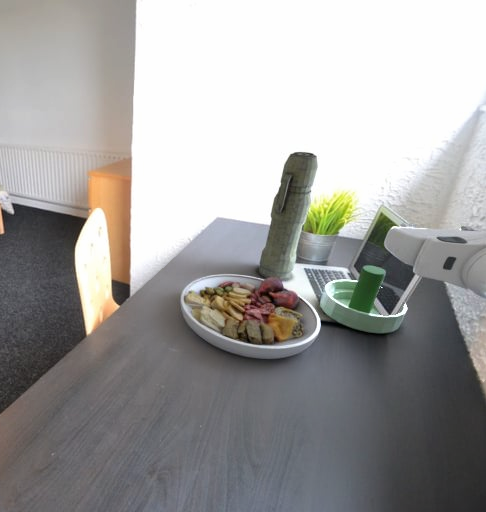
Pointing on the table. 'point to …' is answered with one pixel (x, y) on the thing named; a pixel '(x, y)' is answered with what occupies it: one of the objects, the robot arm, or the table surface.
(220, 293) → the bowl
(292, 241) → the thermos
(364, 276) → the green cylinder
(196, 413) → the table surface
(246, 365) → the table surface
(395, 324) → the bowl
